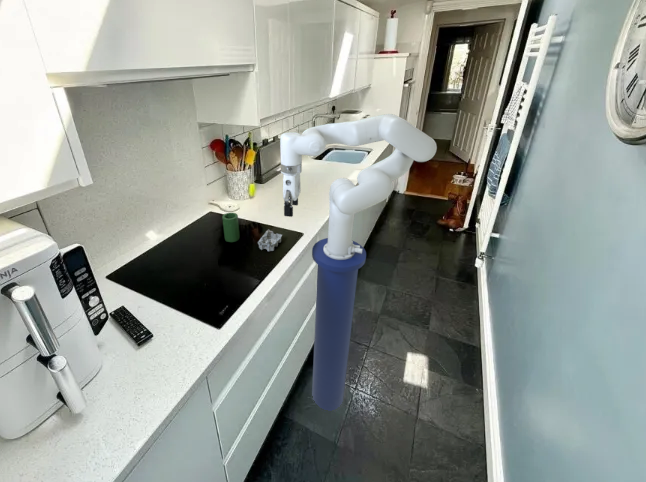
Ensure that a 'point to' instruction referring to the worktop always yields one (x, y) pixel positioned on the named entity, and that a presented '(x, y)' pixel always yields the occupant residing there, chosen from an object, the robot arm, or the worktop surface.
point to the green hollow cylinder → (231, 227)
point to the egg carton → (269, 240)
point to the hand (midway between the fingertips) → (291, 210)
